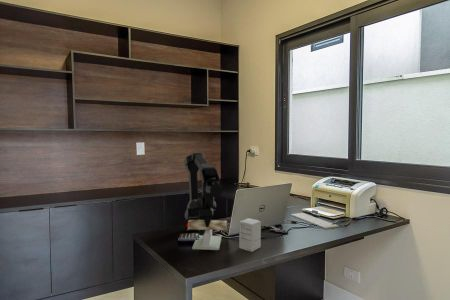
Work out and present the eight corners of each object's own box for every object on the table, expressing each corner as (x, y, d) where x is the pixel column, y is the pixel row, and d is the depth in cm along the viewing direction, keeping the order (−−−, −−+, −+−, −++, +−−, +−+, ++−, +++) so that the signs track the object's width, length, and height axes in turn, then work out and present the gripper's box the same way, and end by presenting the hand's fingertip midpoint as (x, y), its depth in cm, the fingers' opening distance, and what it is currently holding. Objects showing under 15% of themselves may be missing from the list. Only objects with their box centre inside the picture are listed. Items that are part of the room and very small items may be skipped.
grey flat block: (305, 214, 207) (290, 216, 202) (305, 210, 207) (290, 212, 201) (341, 227, 179) (325, 230, 174) (341, 222, 179) (325, 225, 174)
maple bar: (226, 227, 151) (226, 220, 150) (226, 230, 147) (226, 222, 147) (189, 226, 151) (189, 219, 151) (188, 229, 148) (188, 221, 147)
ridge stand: (197, 237, 158) (197, 224, 157) (221, 238, 157) (221, 225, 157) (192, 249, 142) (192, 234, 142) (218, 249, 141) (219, 235, 141)
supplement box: (247, 243, 150) (248, 217, 149) (261, 247, 145) (261, 220, 144) (238, 248, 144) (239, 221, 143) (251, 252, 139) (252, 224, 138)
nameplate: (293, 230, 166) (279, 233, 161) (293, 233, 166) (279, 236, 161) (262, 218, 190) (248, 220, 185) (262, 220, 190) (248, 223, 185)
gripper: (194, 189, 158) (194, 219, 159) (187, 196, 139) (187, 231, 140) (216, 189, 157) (215, 220, 158) (212, 197, 139) (212, 232, 140)
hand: (207, 225), depth 149 cm, fingers closed on maple bar, 3 cm apart
